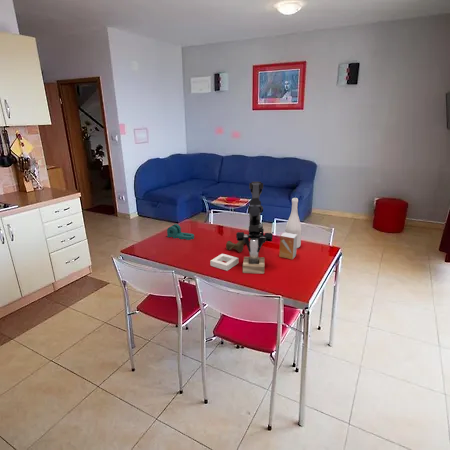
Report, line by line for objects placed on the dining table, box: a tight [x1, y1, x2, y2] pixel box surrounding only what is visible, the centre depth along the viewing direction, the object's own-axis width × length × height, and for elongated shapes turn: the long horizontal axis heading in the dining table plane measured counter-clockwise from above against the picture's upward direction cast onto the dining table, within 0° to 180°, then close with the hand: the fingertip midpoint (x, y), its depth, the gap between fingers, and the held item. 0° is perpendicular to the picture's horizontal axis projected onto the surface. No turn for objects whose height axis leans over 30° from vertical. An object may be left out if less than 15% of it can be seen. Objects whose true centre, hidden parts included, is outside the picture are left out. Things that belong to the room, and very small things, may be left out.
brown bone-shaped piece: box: [225, 240, 246, 254], centre depth 191 cm, size 6×10×20 cm
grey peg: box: [249, 238, 259, 264], centre depth 163 cm, size 4×4×13 cm
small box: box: [278, 231, 298, 260], centre depth 178 cm, size 8×6×13 cm
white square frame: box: [209, 253, 240, 272], centre depth 172 cm, size 11×11×3 cm
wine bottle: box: [284, 197, 302, 249], centre depth 189 cm, size 10×10×30 cm
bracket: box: [166, 223, 195, 241], centre depth 211 cm, size 18×7×8 cm, turn 68°
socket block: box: [242, 256, 265, 275], centre depth 166 cm, size 11×11×4 cm
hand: (253, 252), depth 162 cm, fingers closed on grey peg, 4 cm apart
